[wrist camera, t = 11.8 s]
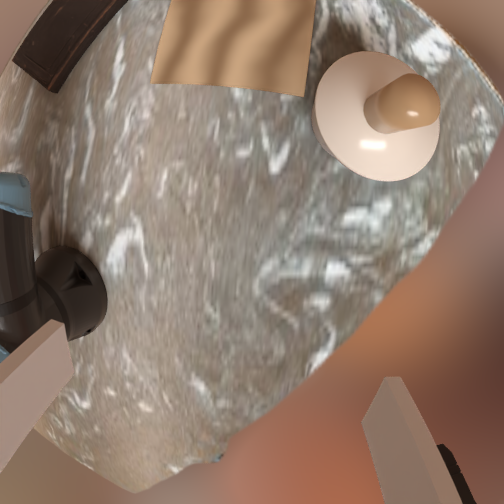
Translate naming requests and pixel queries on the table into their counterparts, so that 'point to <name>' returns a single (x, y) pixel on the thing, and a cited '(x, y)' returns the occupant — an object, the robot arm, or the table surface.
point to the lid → (377, 116)
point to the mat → (237, 44)
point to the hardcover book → (63, 38)
